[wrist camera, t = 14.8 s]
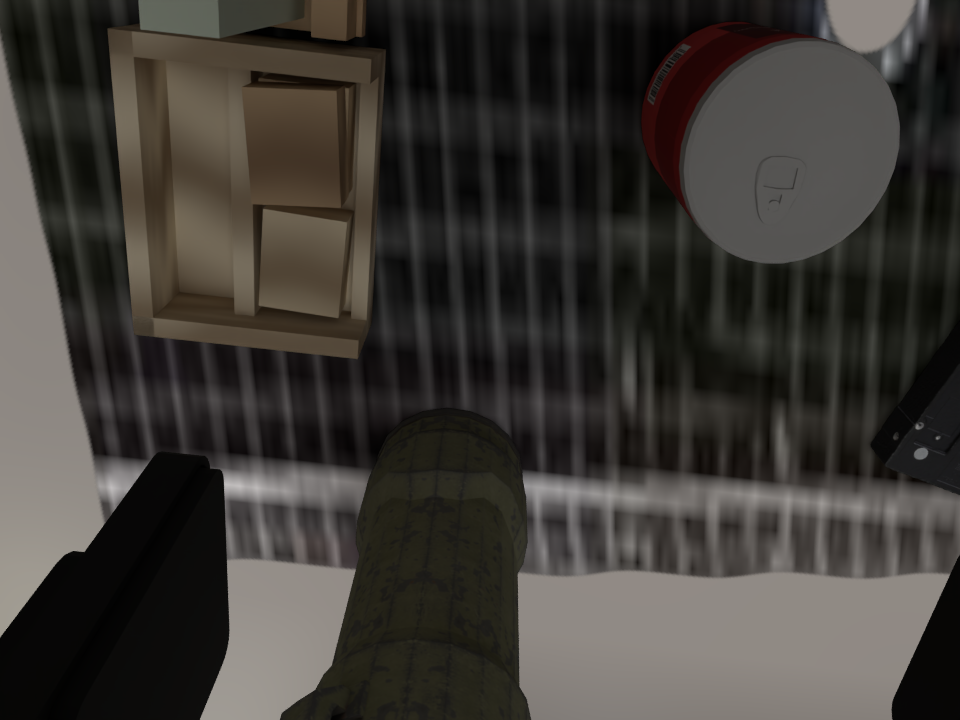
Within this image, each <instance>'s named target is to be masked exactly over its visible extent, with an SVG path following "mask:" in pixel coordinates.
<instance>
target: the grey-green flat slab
mask: <svg viewBox="0 0 960 720" xmlns="http://www.w3.org/2000/svg"><path fill="white" fill-rule="evenodd" d="M138 1H139V15H140V29H141V30H150V31H159V32H167V33H176V34H185V35H194V36H202V37H211V38H223V37H227V36H232V35H236V34H240V33H244V32H248V31H252V30H256V29H260V28H265V27H269V26H273V25H277V24H281V23H285V22H289V21H293V20H298V19H302V18H304V13H305V0H138Z"/></svg>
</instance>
